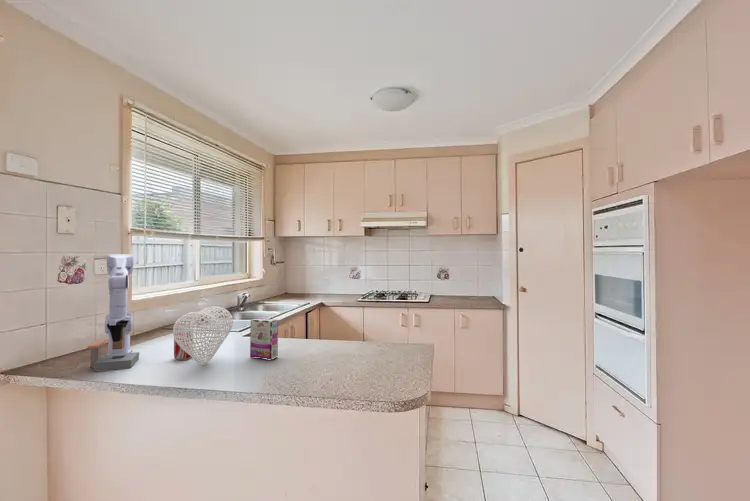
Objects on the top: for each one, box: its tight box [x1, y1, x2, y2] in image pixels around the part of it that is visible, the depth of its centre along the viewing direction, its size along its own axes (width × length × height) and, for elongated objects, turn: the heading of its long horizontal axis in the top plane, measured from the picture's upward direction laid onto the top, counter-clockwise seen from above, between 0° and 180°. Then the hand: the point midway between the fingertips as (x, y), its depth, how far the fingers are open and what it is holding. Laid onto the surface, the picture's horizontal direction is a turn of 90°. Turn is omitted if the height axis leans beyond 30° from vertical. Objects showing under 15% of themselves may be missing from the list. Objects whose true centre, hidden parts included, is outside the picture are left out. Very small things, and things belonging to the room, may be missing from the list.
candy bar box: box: [249, 317, 279, 359], centre depth 158 cm, size 11×5×16 cm, turn 68°
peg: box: [112, 327, 125, 350], centre depth 146 cm, size 3×3×8 cm
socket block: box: [86, 338, 140, 372], centre depth 145 cm, size 12×14×9 cm
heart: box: [172, 305, 234, 366], centre depth 147 cm, size 28×16×22 cm, turn 177°
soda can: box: [173, 328, 194, 361], centre depth 156 cm, size 7×7×12 cm
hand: (117, 340), depth 146 cm, fingers closed on peg, 3 cm apart
